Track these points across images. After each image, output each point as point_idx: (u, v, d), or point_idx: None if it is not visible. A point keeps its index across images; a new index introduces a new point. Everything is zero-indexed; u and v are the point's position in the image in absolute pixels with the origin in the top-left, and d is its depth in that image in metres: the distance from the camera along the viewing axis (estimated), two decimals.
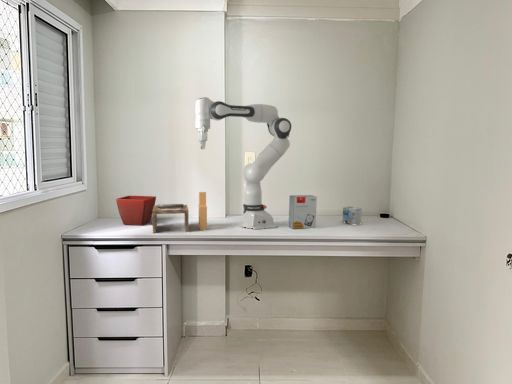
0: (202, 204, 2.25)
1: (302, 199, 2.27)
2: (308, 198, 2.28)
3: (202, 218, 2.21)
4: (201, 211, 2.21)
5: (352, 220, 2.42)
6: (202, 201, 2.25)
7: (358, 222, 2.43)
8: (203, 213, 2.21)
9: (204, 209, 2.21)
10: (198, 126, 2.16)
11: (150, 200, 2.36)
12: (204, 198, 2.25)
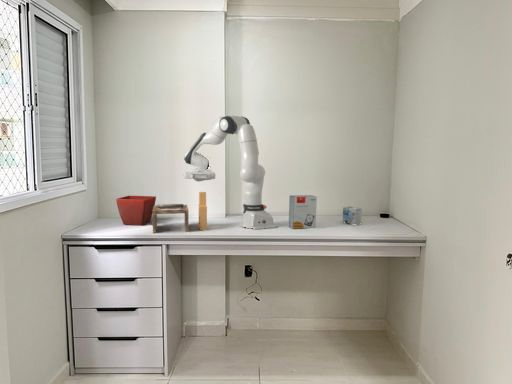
0: (202, 204, 2.25)
1: (302, 199, 2.27)
2: (308, 198, 2.28)
3: (202, 218, 2.21)
4: (201, 211, 2.21)
5: (352, 220, 2.42)
6: (202, 201, 2.25)
7: (358, 222, 2.43)
8: (203, 213, 2.21)
9: (204, 209, 2.21)
10: (193, 178, 2.48)
11: (150, 200, 2.36)
12: (204, 198, 2.25)
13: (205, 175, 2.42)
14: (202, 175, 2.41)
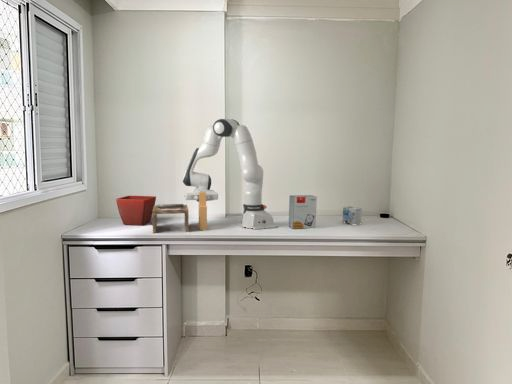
0: (202, 204, 2.25)
1: (302, 199, 2.27)
2: (308, 198, 2.28)
3: (202, 218, 2.21)
4: (201, 211, 2.21)
5: (352, 220, 2.42)
6: (202, 201, 2.25)
7: (358, 222, 2.43)
8: (203, 213, 2.21)
9: (204, 209, 2.21)
10: (195, 199, 2.37)
11: (150, 200, 2.36)
12: (204, 198, 2.25)
13: (207, 196, 2.31)
14: None
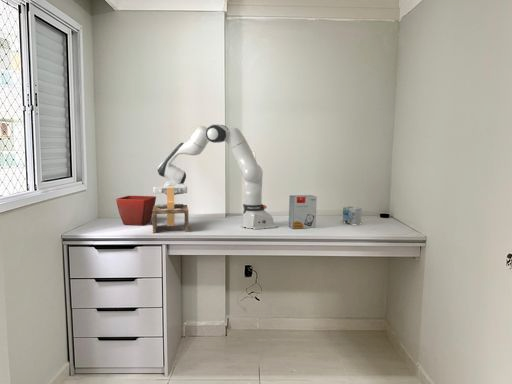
0: (170, 199, 2.20)
1: (302, 199, 2.27)
2: (308, 198, 2.28)
3: (170, 214, 2.17)
4: (168, 207, 2.16)
5: (352, 220, 2.42)
6: (170, 196, 2.20)
7: (358, 222, 2.43)
8: (170, 209, 2.17)
9: (171, 205, 2.17)
10: None
11: (150, 200, 2.36)
12: (172, 193, 2.20)
13: (176, 189, 2.26)
14: None
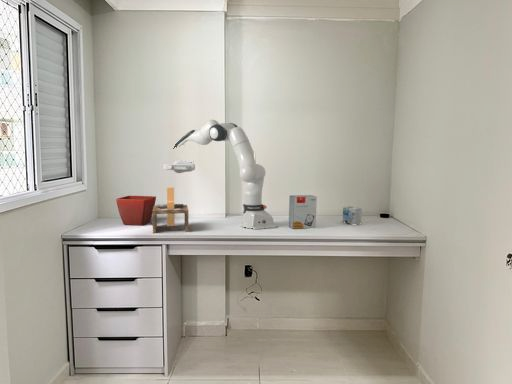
0: (170, 199, 2.20)
1: (302, 199, 2.27)
2: (308, 198, 2.28)
3: (170, 214, 2.17)
4: (168, 207, 2.16)
5: (352, 220, 2.42)
6: (170, 196, 2.20)
7: (358, 222, 2.43)
8: (170, 209, 2.17)
9: (171, 205, 2.17)
10: (174, 170, 2.51)
11: (150, 200, 2.36)
12: (172, 193, 2.20)
13: (185, 166, 2.45)
14: (181, 166, 2.44)
